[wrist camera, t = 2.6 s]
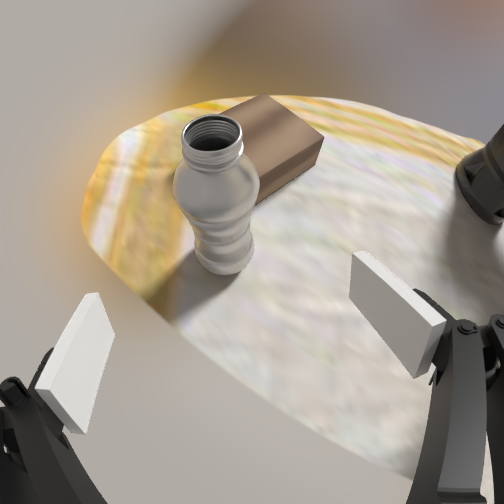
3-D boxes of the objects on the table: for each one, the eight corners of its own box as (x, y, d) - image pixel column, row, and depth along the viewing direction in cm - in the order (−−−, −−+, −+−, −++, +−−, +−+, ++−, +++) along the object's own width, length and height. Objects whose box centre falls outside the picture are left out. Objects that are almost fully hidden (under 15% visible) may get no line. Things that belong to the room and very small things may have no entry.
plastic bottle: (255, 278, 33) (275, 170, 15) (197, 282, 33) (150, 178, 14) (251, 228, 36) (262, 99, 17) (197, 232, 35) (163, 105, 17)
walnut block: (315, 164, 40) (324, 137, 35) (253, 206, 37) (255, 179, 32) (261, 120, 44) (264, 93, 38) (201, 153, 40) (197, 125, 35)
